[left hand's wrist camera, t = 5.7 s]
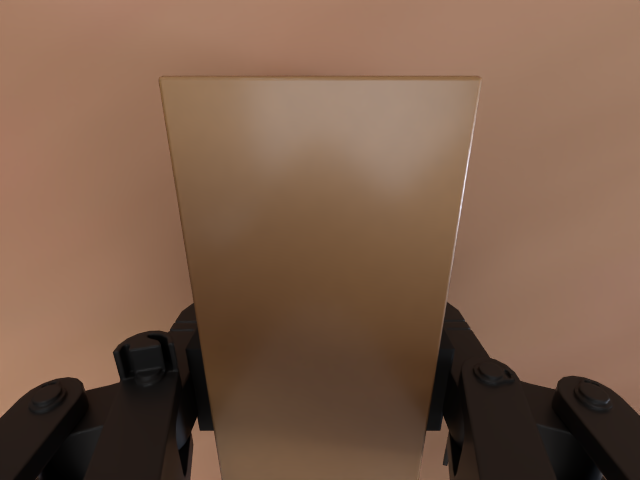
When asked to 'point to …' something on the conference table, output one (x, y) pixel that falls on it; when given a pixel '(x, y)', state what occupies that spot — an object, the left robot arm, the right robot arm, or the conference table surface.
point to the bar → (320, 261)
